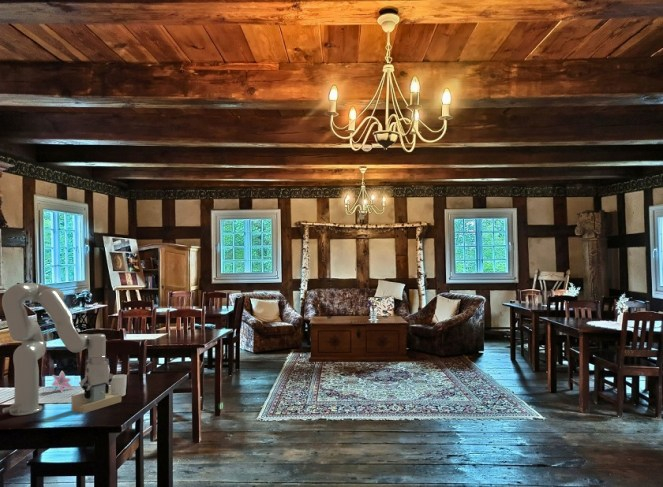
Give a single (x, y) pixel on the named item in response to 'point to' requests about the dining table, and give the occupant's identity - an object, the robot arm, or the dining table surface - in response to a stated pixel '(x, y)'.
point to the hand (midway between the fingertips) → (96, 395)
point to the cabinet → (97, 393)
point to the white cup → (118, 385)
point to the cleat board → (83, 406)
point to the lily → (61, 381)
